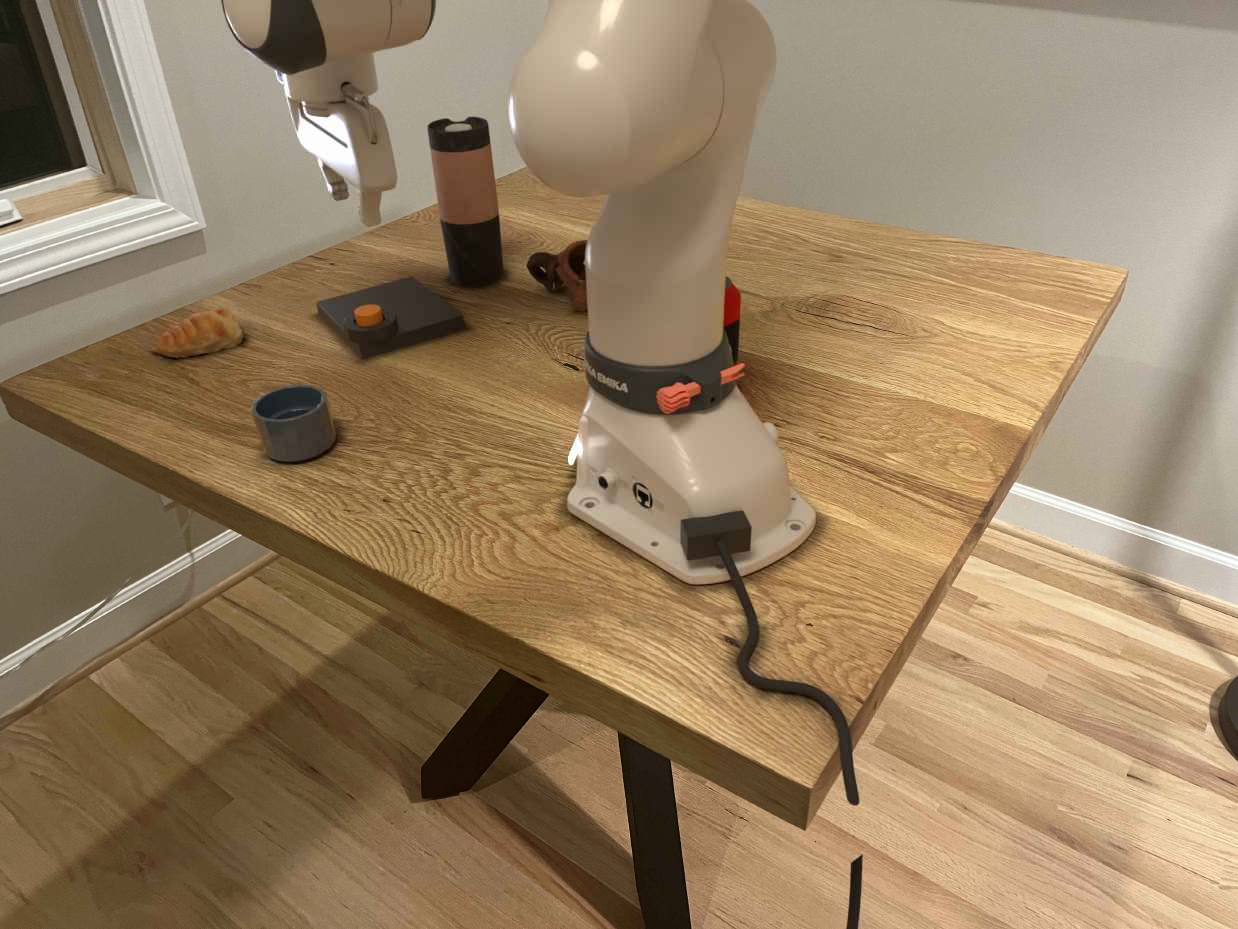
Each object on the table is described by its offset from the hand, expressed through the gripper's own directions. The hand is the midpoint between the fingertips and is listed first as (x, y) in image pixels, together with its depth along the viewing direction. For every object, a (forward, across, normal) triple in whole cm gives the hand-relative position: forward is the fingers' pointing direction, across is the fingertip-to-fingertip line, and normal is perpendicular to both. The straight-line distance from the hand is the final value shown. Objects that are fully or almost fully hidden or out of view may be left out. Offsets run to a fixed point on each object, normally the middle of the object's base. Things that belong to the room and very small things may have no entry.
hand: (354, 210), depth 97 cm
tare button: (+13, 0, +1) cm, 13 cm away
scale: (+16, +5, -3) cm, 17 cm away
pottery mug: (+16, -3, -25) cm, 30 cm away
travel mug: (+16, +11, -18) cm, 27 cm away
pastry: (+17, +12, +17) cm, 27 cm away
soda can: (+15, -31, -24) cm, 42 cm away
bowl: (+16, -16, +14) cm, 27 cm away
